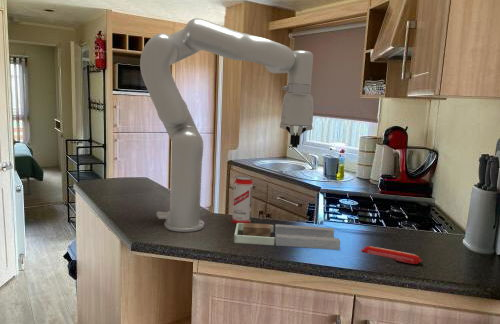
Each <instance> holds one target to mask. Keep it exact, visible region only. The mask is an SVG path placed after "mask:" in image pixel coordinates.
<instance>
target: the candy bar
mask: <svg viewBox="0 0 500 324" xmlns="http://www.w3.org/2000/svg"><path fill="white" fill-rule="evenodd" d="M360 252H362V253H366V254H369V255H375V256H378V257H379V256H381V257H384V258H390V259H393V260H394V261H396V262H401V263H406V264H412V265H418V264H419V263H420V262H423V259H421V258H420V257H419V256H418V255H417V254H415V253H410V252H406V251H405V252H404V251H399V250H395V249H389V248H382V247H378V246H373V245H372V246H371V245H368V246H365V248H361V250H360Z"/></svg>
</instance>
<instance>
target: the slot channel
mask: <svg viewBox="0 0 500 324" xmlns="http://www.w3.org/2000/svg"><path fill="white" fill-rule="evenodd" d="M274 224H275V223H274ZM274 237H275V241H274V242H275V246H276V247H277V246H278V247H280V246H281V247H294V248H306V249H307V248H308V249H322V250H334V251H335V250H336V251H340V248H341V240H340V238H339V237H335V229H334V228H333V227H323V226H309V225H308V226H307V225H306V226H305V225H293V224H289V225H288V224H281V223H280V224H279V223H276V224H275V226H274Z"/></svg>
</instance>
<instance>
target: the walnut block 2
mask: <svg viewBox="0 0 500 324" xmlns="http://www.w3.org/2000/svg"><path fill="white" fill-rule="evenodd" d="M256 224H257V236H261V237H271V233H272V232H271V225H272V224H270V223H269V224H268V223H256Z"/></svg>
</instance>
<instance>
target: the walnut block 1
mask: <svg viewBox="0 0 500 324" xmlns="http://www.w3.org/2000/svg"><path fill="white" fill-rule="evenodd" d="M257 224H258V223H251V222H250V223H244V226H243V230H242V235H247V236H257Z"/></svg>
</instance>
